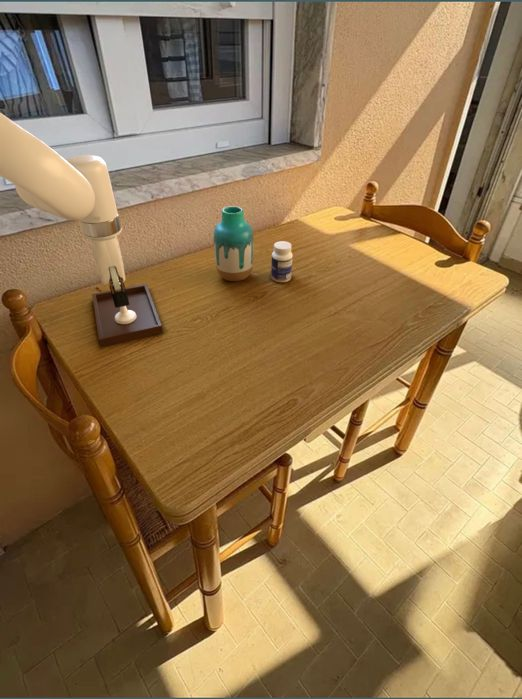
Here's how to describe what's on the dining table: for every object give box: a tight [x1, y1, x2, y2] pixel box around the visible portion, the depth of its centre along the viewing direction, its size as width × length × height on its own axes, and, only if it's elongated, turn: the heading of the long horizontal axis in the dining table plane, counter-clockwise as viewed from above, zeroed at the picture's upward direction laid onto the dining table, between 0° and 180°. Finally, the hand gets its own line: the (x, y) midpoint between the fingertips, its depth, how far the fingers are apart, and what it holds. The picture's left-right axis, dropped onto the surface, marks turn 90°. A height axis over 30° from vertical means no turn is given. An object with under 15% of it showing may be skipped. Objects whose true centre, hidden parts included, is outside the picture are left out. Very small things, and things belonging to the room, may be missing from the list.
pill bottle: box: [270, 240, 294, 283], centre depth 104 cm, size 6×6×10 cm
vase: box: [213, 205, 255, 282], centre depth 101 cm, size 11×11×19 cm
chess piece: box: [112, 282, 137, 324], centre depth 87 cm, size 5×5×10 cm
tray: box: [91, 283, 164, 348], centre depth 92 cm, size 14×20×2 cm
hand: (121, 302), depth 88 cm, fingers closed on chess piece, 2 cm apart
